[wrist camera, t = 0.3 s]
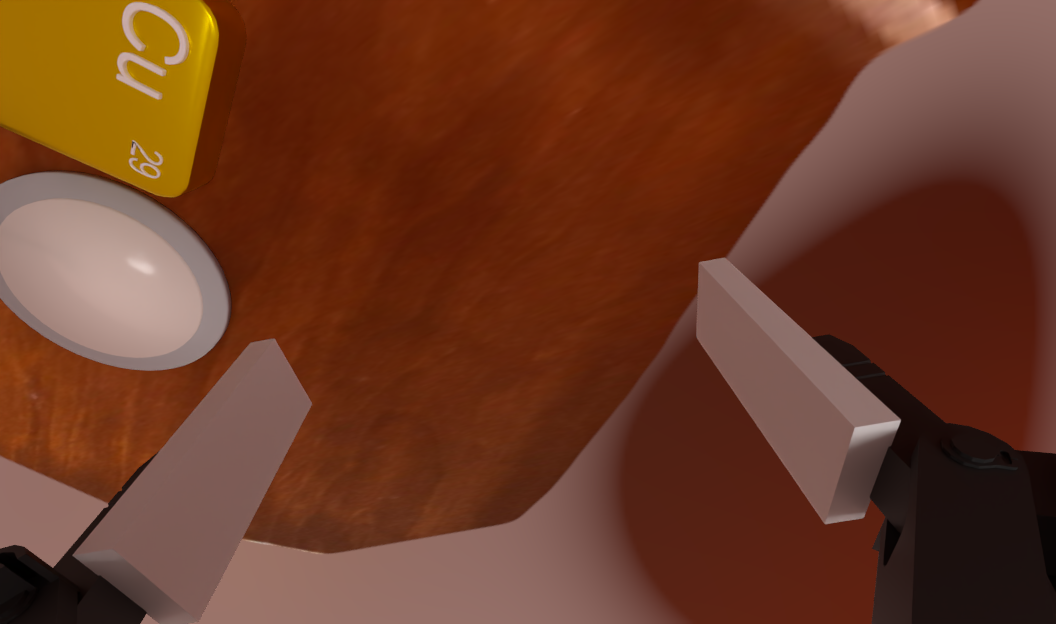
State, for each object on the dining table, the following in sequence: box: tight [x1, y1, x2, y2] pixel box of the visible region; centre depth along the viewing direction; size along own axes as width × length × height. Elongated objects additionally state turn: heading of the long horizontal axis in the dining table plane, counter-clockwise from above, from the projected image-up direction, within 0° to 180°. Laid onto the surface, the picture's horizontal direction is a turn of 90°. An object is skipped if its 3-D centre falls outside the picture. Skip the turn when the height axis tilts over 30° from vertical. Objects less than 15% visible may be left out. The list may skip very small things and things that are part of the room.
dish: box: [0, 170, 231, 370], centre depth 40 cm, size 20×20×2 cm
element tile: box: [0, 0, 246, 198], centre depth 31 cm, size 15×15×5 cm
